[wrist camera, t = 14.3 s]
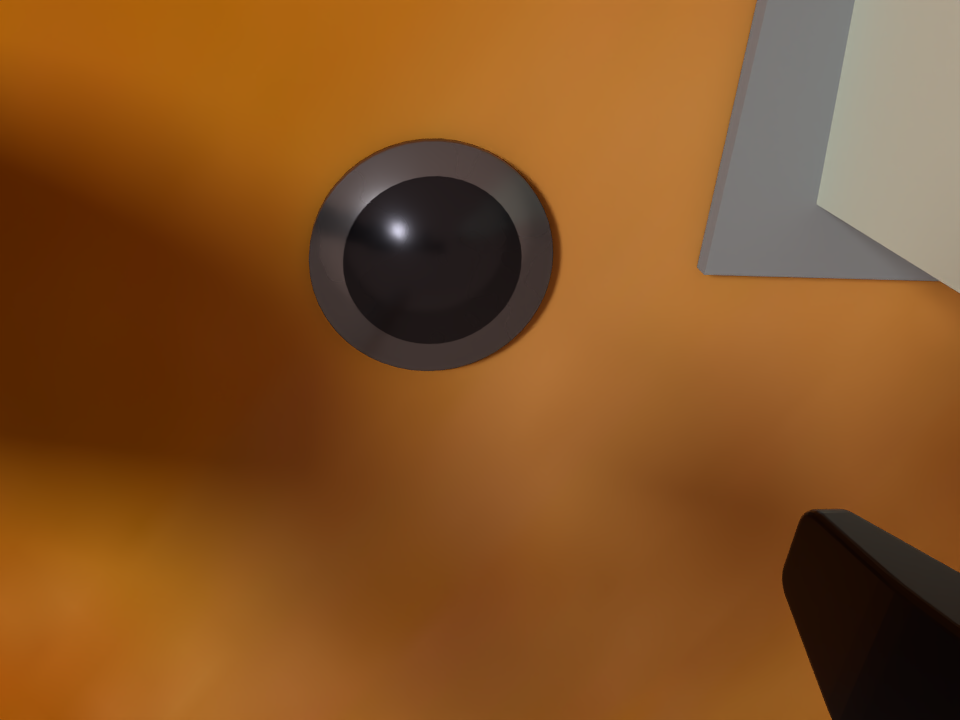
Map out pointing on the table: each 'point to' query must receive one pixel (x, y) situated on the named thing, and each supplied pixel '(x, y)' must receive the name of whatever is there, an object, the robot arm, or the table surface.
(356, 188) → the cable grommet
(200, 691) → the table surface
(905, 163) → the sage pillar
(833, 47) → the slate mat
